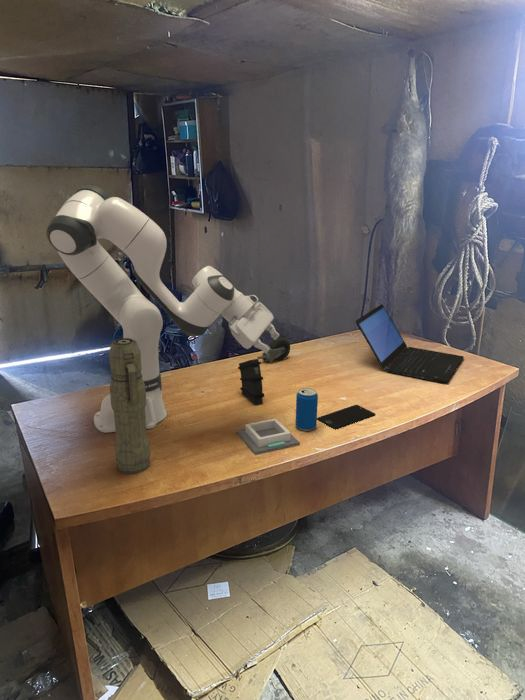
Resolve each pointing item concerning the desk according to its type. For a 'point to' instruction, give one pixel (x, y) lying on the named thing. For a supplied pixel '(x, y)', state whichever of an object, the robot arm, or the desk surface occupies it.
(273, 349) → the caster wheel
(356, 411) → the cell phone
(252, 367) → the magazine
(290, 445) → the charging dock
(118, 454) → the thermos
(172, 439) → the desk surface
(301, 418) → the beverage can
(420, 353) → the laptop
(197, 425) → the desk surface
